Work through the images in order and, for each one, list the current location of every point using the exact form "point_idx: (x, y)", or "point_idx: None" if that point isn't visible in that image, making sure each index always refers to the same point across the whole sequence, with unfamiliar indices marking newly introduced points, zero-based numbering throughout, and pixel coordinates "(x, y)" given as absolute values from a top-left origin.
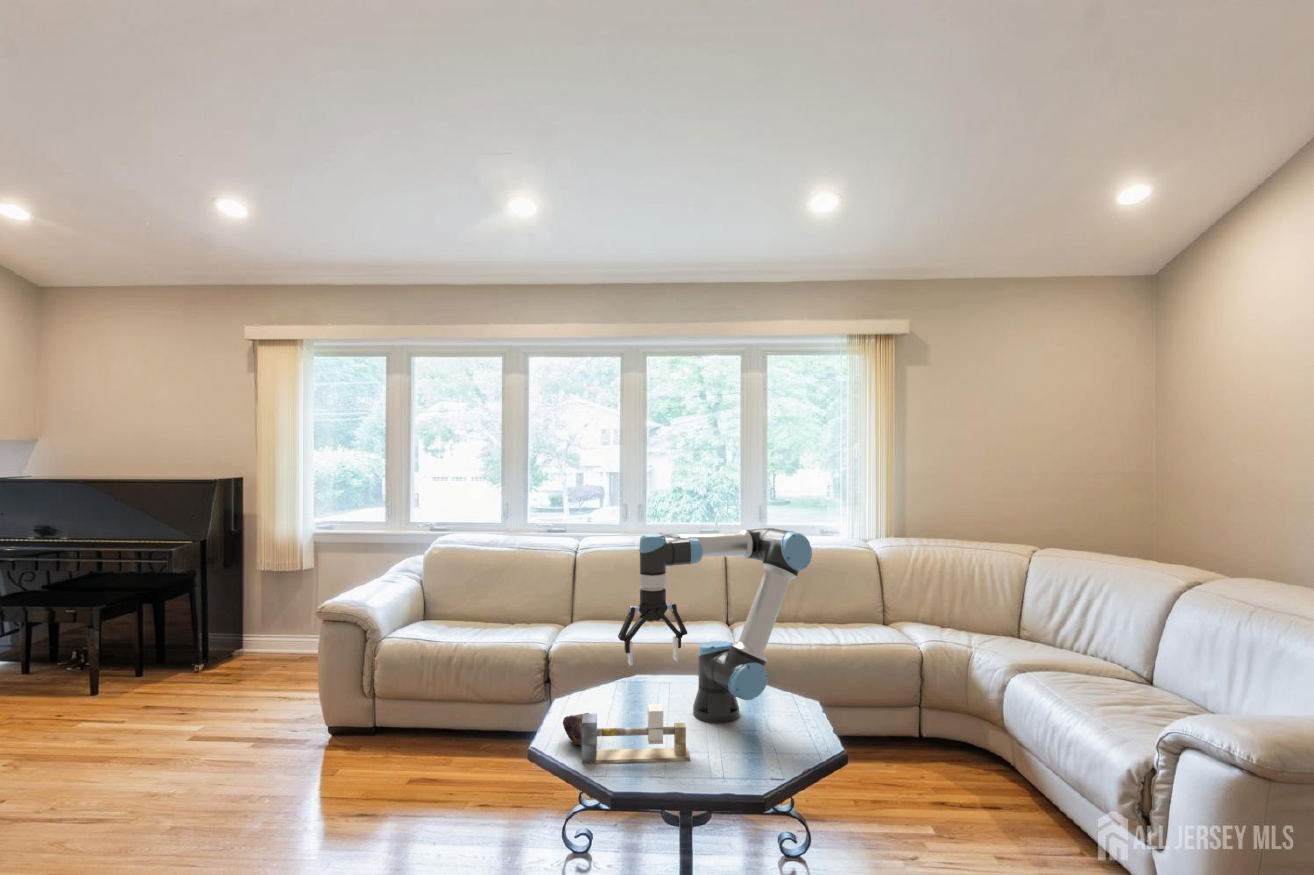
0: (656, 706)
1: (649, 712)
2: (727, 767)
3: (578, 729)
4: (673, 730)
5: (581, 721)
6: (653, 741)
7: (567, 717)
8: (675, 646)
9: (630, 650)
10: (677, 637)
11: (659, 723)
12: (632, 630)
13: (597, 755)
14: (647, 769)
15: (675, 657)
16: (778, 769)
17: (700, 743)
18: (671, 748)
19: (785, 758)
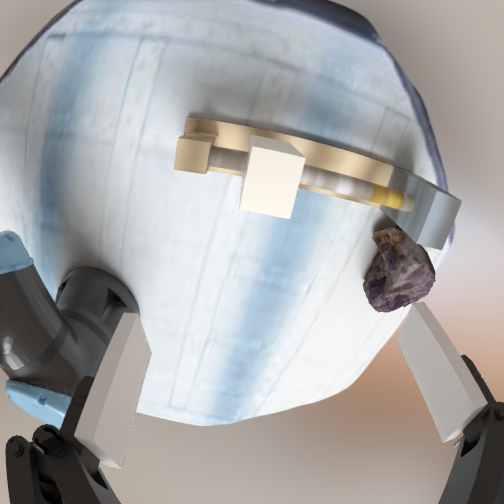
0: (264, 193)
1: (302, 157)
2: (119, 76)
3: (421, 246)
4: (215, 147)
5: (422, 257)
6: (277, 140)
7: (432, 284)
8: (112, 389)
9: (464, 363)
10: (81, 445)
11: (263, 143)
12: (495, 482)
13: (385, 184)
14: (297, 101)
15: (134, 331)
16: (41, 69)
17: (144, 191)
18: (218, 169)
19: (21, 110)
